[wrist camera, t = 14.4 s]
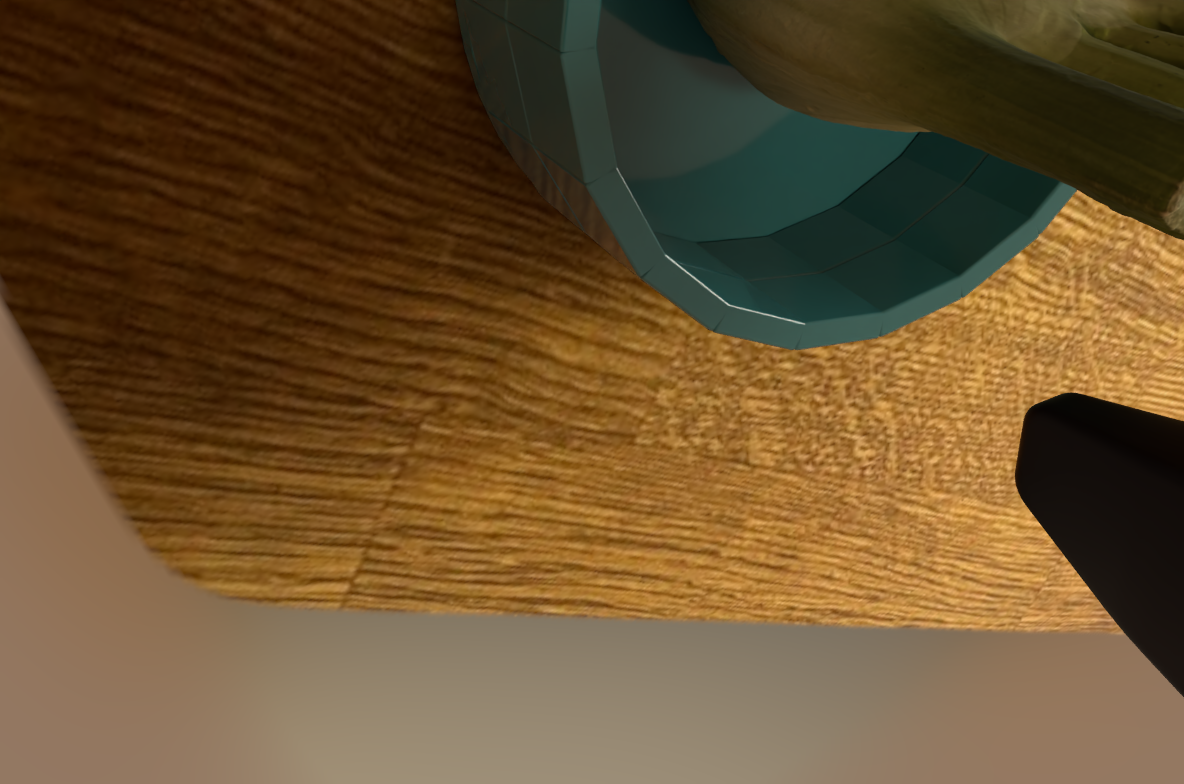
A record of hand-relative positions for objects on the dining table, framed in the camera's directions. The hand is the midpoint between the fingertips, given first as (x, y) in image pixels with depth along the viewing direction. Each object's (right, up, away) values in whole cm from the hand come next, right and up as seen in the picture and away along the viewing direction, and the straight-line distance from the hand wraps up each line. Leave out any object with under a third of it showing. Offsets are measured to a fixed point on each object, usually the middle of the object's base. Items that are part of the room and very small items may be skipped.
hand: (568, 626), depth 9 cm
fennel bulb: (+4, +10, +12) cm, 17 cm away
